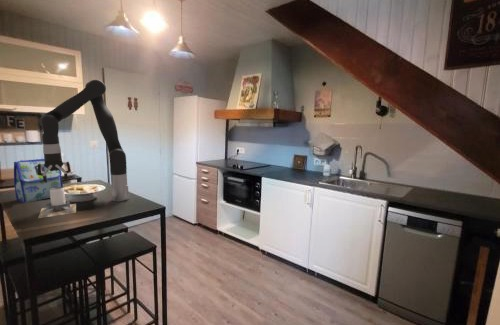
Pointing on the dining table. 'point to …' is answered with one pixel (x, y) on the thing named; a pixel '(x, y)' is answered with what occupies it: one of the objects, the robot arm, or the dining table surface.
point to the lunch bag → (34, 181)
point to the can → (57, 196)
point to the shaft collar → (57, 208)
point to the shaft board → (57, 211)
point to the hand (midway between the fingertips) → (56, 181)
